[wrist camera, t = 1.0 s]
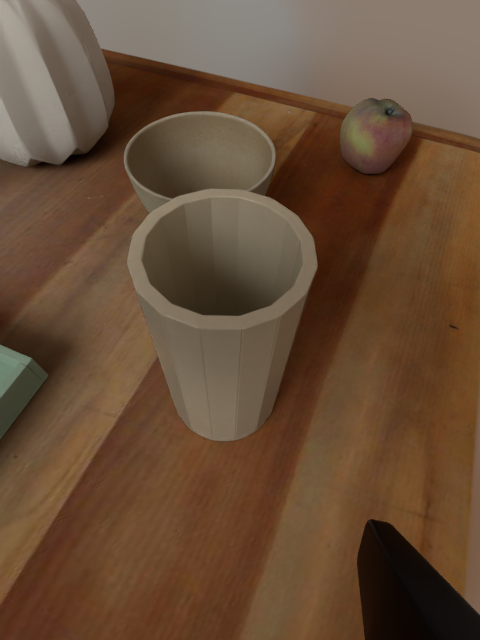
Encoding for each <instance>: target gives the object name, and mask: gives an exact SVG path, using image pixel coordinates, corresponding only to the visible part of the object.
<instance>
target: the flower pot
mask: <svg viewBox="0 0 480 640" xmlns="http://www.w3.org/2000/svg"><path fill="white" fill-rule="evenodd" d="M275 161H276V151H275V147H274V144H273V142H272V141H271V139H270V137H269V136H268V135H267V134H266V133H265V132H264V131H263V130H262V129H261V128H259V127H258V126H256V125H255V124H253V123H251V122H249V121H247V120H245V119H243V118H240V117H237V116H234V115H230V114H225V113H219V112H207V111H204V112H202V111H201V112H186V113H180V114H175V115H171V116H167V117H165V118H162V119H159V120H157V121H155V122H153V123H151V124H149V125H147V126H146V127H144V128H143V129H141V130H140V131H139V132H138V133H136V134H135V135H134V136H133V137H132V138H131V140H130V141H129V143H128V145H127V147H126V149H125V153H124V165H125V169H126V171H127V174H128V176H129V179H130V181H131V183H132V185H133V187H134V189H135V191H136V193H137V195H138V196H139V198H140V200H141V202H142V203H143V205H144V206H145V208H146V209H147V211H148V212H149V213H151V212H152V211H153V210H155V209H156V208H158V207H160V206H162V205H163V204H165V203H167V202H168V201H170V200H172V199H174V198H175V197H178V196H180V195H184V194H188V193H193V192H197V191H201V190H205V189H241V190H246V191H249V192H253V193H256V194H259V195H263V196H265V194H266V192H267V189H268V187H269V184H270V181H271V178H272V174H273V170H274V166H275Z"/></svg>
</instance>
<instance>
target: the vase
mask: <svg viewBox="0 0 480 640" xmlns="http://www.w3.org/2000/svg"><path fill="white" fill-rule="evenodd" d="M114 105H115V99H114V89H113V84H112V80H111V76H110V72H109V70H108V67H107V64H106V61H105V58H104V55H103V53H102V50H101V48H100V46H99V44H98V41H97V38H96V36H95V34H94V31H93V29H92V27H91V25H90V23H89V21H88V19H87V17H86V15H85V13H84V11H83V10H82V9H81V7H80V6H79V4H78V3H77V2H76V0H0V159H2V160H5V161H7V162H10V163H13V164H16V165H19V166H23V167H31V166H33V165H36V164H38V163H40V162H47V163H51V164H55V165H61V164H62V163H63V162H64V161H65V160H66V159H67V158H68V157H69V156H70V155H77V154H86V153H87V152H89V151H90V150H91V149H92V147H93V146H94V145H95V144H96V142H97V141H98V140H99V139H100V137H102V136H103V135H104V133H105V132H106V130H107V128H108V125H109V123H108V122H109V119H110V116H111V113H112V111H113V108H114Z"/></svg>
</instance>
